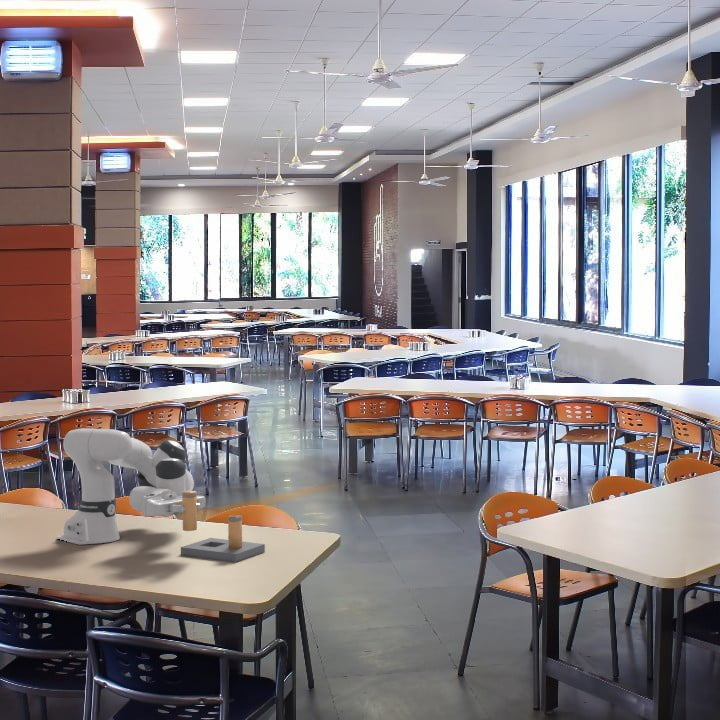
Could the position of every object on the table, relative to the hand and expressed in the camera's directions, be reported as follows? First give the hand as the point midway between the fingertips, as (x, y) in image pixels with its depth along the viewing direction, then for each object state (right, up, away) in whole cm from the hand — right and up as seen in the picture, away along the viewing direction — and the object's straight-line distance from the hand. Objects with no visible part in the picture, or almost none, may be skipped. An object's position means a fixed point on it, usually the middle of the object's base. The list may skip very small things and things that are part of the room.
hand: (191, 507), depth 314 cm
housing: (+8, -16, +11) cm, 22 cm away
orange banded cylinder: (-1, -7, +1) cm, 7 cm away
